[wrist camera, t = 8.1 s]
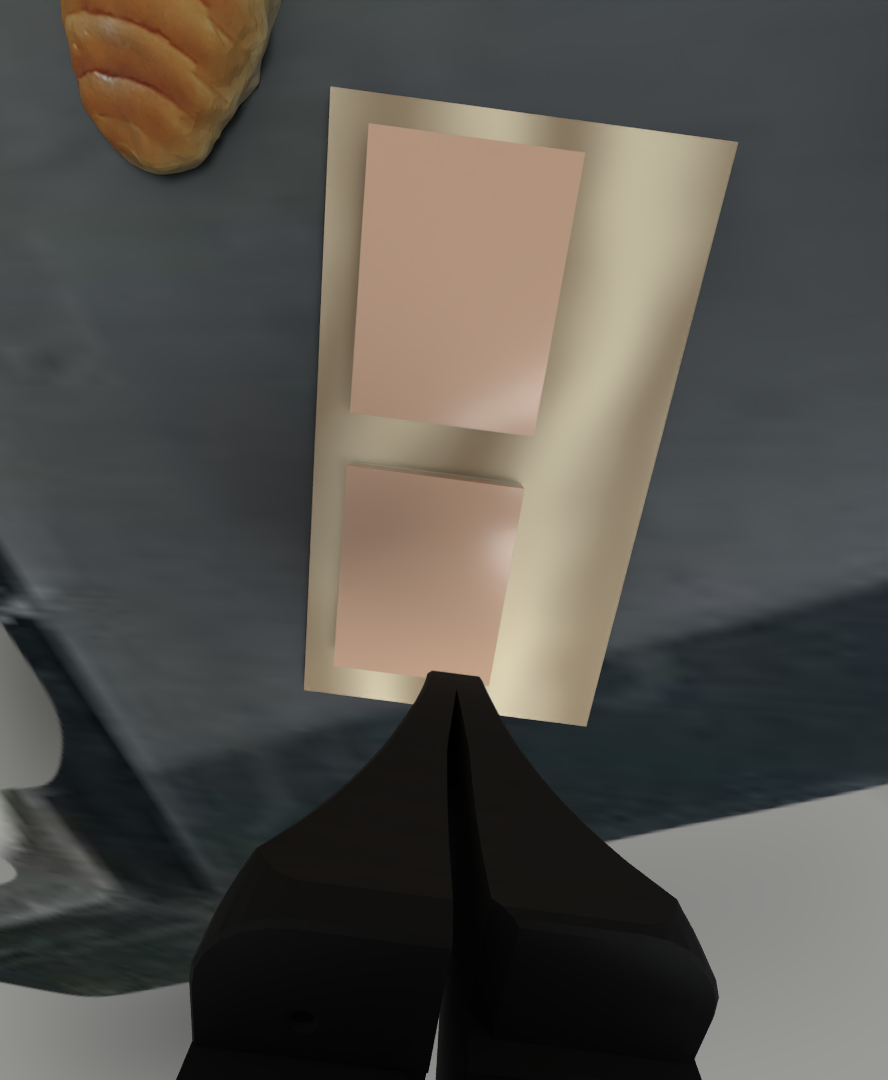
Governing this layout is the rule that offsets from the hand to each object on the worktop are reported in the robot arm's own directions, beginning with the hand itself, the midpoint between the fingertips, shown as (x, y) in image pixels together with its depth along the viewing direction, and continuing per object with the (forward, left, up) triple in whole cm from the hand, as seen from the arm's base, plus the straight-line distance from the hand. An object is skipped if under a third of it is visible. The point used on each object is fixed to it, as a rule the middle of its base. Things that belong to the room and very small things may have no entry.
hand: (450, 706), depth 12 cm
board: (0, -5, -10) cm, 11 cm away
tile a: (-2, -11, -9) cm, 14 cm away
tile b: (-2, 0, -9) cm, 9 cm away
